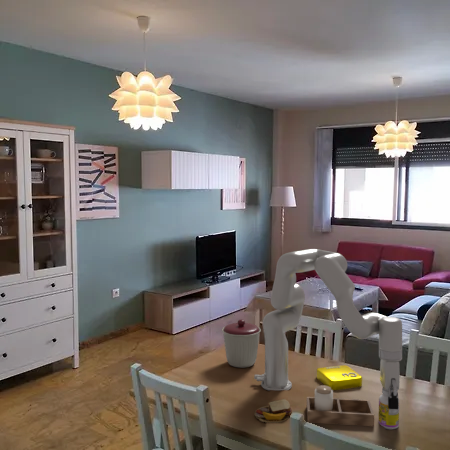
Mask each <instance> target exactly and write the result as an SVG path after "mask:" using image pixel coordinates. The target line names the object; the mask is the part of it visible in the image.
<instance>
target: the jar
mask: <svg viewBox="0 0 450 450" xmlns="http://www.w3.org/2000/svg"><path fill="white" fill-rule="evenodd" d="M314 397H315V411H332V412H333V398H334V390H331V388H330V387H329V386H325V385H324V384H323V385H321V384H320V385H317V386H316V388H315V389H314Z"/></svg>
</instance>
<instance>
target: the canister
mask: <svg viewBox="0 0 450 450" xmlns="http://www.w3.org/2000/svg"><path fill="white" fill-rule="evenodd" d="M221 332H222V333H223V339H224V340H223V341H224V350H225V356H226V361H227V363H228V364H229V365H230V366H231V367H234V368H241V369H242V368H249V367H252V366H254V365H255V363H256V361H257V357H258V349H259V342H260V341H259V339H260V333H261V332H262V329H261V327H260V326H257V325H256V324H253V323H250V322H246V321H245V320H244V319H238V320H237V322H234V323H233V322H232V323H228V324H226V325H224V326H223V327H222V329H221Z"/></svg>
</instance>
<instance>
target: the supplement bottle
mask: <svg viewBox="0 0 450 450" xmlns="http://www.w3.org/2000/svg"><path fill="white" fill-rule="evenodd" d="M390 388H393V387H390ZM392 392H393V391H391V393H392ZM381 393H382V394H380V395H379V397H378V424H379V425H381V426H382V427H384V429H386V430H396V429H398V428H399V426H400V425H399V423H400V398H398V409H389V408H388V397H389V391H388V389H387V390H385V389H384V388H383V387H382V389H381Z"/></svg>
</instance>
